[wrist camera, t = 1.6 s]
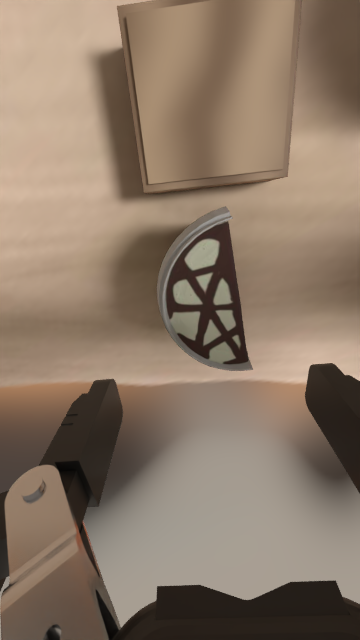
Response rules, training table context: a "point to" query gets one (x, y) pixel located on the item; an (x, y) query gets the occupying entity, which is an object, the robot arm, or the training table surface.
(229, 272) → the food container
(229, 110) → the plinth
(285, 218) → the training table surface
